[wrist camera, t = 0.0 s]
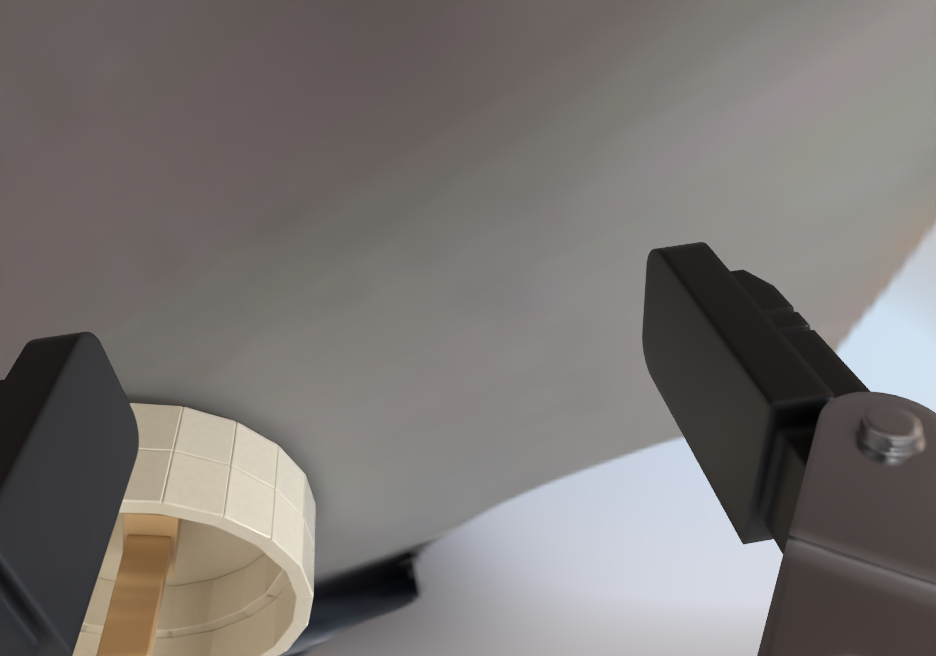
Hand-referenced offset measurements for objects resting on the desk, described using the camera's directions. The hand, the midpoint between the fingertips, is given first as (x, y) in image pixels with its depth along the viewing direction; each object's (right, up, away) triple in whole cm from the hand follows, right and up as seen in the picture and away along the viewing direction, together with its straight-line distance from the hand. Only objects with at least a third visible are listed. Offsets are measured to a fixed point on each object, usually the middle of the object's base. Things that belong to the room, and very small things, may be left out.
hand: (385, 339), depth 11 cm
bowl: (-15, -9, +27) cm, 32 cm away
